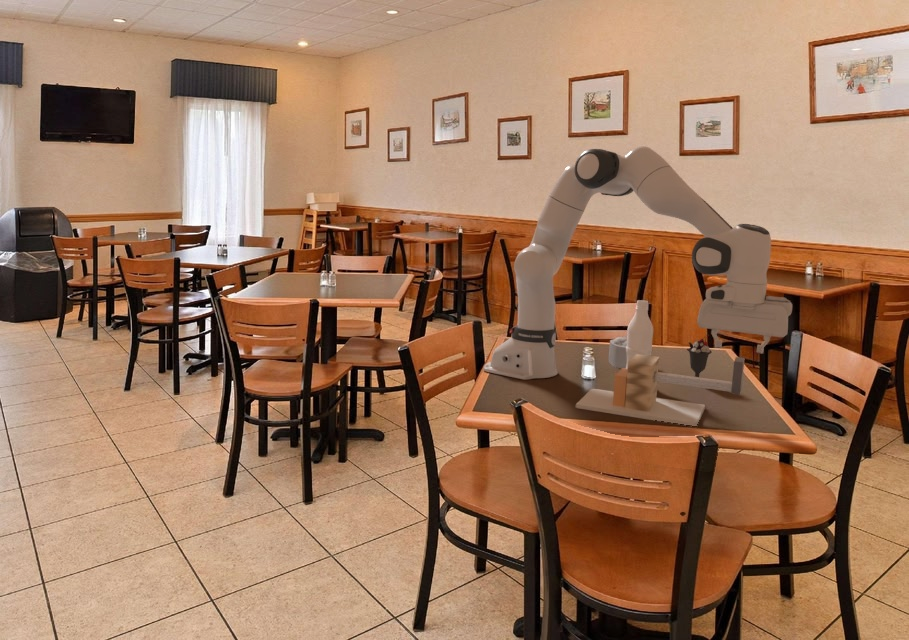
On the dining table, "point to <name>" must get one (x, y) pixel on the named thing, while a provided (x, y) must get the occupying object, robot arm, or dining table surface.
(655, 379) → the shaft
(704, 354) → the sundae
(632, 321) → the water bottle
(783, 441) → the dining table surface
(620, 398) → the block
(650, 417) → the base board
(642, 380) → the bearing block
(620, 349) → the lumpy-topped squat cylinder
